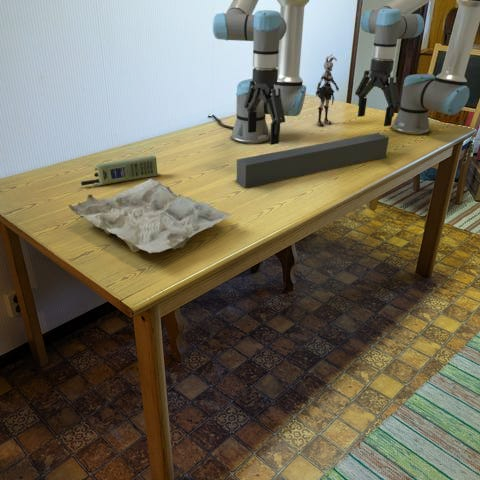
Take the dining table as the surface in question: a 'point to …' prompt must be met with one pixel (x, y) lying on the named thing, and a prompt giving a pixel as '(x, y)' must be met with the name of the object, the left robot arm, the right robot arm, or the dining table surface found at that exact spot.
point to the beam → (310, 159)
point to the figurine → (326, 90)
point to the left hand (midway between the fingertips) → (262, 137)
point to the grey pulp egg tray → (149, 216)
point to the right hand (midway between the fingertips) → (373, 120)
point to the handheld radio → (124, 170)
